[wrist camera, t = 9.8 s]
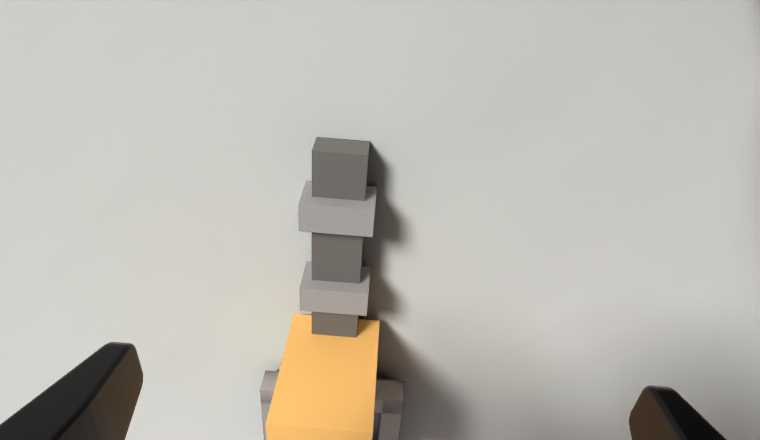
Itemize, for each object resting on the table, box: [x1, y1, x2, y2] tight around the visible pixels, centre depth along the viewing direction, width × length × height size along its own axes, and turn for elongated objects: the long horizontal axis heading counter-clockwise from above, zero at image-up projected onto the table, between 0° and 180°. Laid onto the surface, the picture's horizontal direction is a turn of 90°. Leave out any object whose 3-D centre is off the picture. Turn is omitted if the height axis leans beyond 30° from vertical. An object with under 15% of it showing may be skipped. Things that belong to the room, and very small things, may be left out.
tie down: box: [260, 137, 404, 440], centre depth 23 cm, size 20×7×6 cm, turn 176°
